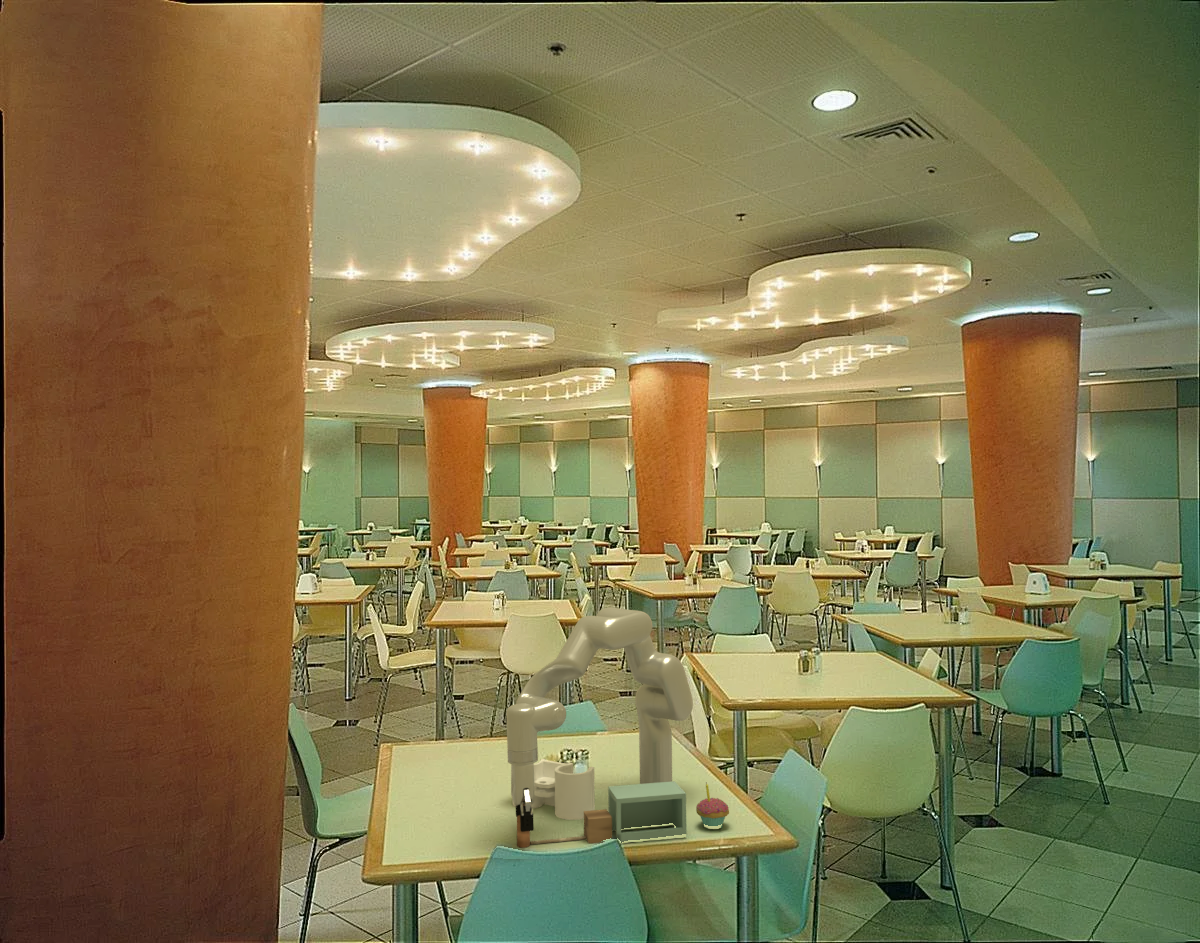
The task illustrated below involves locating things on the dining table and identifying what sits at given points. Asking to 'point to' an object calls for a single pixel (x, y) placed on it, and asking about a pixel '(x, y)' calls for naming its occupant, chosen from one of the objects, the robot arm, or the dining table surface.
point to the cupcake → (712, 810)
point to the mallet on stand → (594, 832)
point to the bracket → (563, 789)
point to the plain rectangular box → (647, 809)
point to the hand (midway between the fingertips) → (524, 823)
